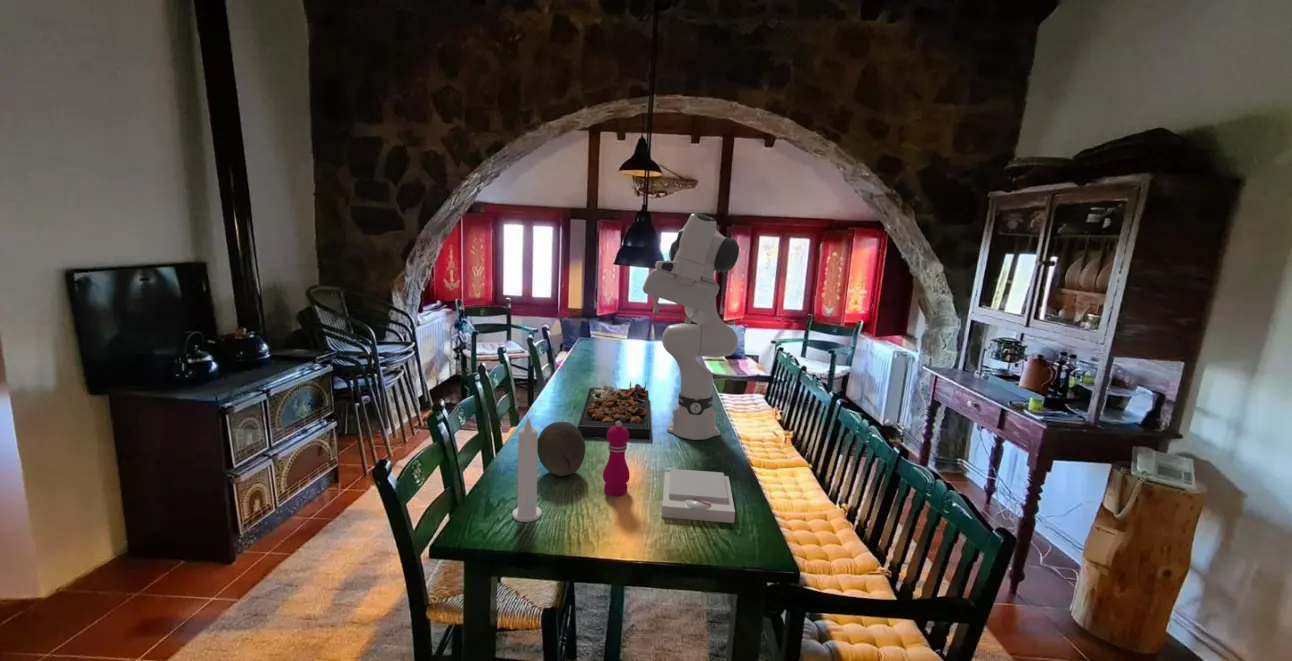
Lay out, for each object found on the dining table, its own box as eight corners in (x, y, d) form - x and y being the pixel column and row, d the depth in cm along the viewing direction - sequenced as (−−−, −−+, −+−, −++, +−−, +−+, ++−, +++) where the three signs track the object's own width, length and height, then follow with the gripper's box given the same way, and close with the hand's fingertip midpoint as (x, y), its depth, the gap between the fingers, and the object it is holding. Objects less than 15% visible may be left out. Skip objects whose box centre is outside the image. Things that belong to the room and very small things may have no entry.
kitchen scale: (664, 481, 158) (665, 467, 158) (727, 486, 157) (728, 472, 157) (661, 517, 139) (662, 502, 138) (734, 523, 138) (735, 507, 137)
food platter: (589, 398, 233) (589, 374, 231) (647, 400, 233) (649, 376, 231) (577, 438, 188) (578, 409, 186) (649, 441, 189) (651, 412, 187)
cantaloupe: (592, 467, 165) (593, 419, 162) (573, 488, 152) (574, 436, 149) (548, 460, 169) (549, 412, 166) (526, 479, 155) (527, 428, 152)
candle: (512, 523, 132) (513, 423, 128) (511, 508, 139) (512, 413, 134) (542, 520, 134) (544, 422, 130) (540, 506, 141) (542, 412, 136)
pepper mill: (614, 482, 156) (617, 414, 153) (634, 490, 152) (637, 421, 148) (596, 490, 151) (599, 420, 147) (616, 500, 146) (619, 427, 143)
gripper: (718, 282, 159) (703, 327, 160) (651, 260, 156) (636, 306, 158) (723, 283, 152) (707, 331, 154) (653, 260, 150) (637, 309, 151)
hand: (671, 318), depth 156 cm, fingers open, 8 cm apart
